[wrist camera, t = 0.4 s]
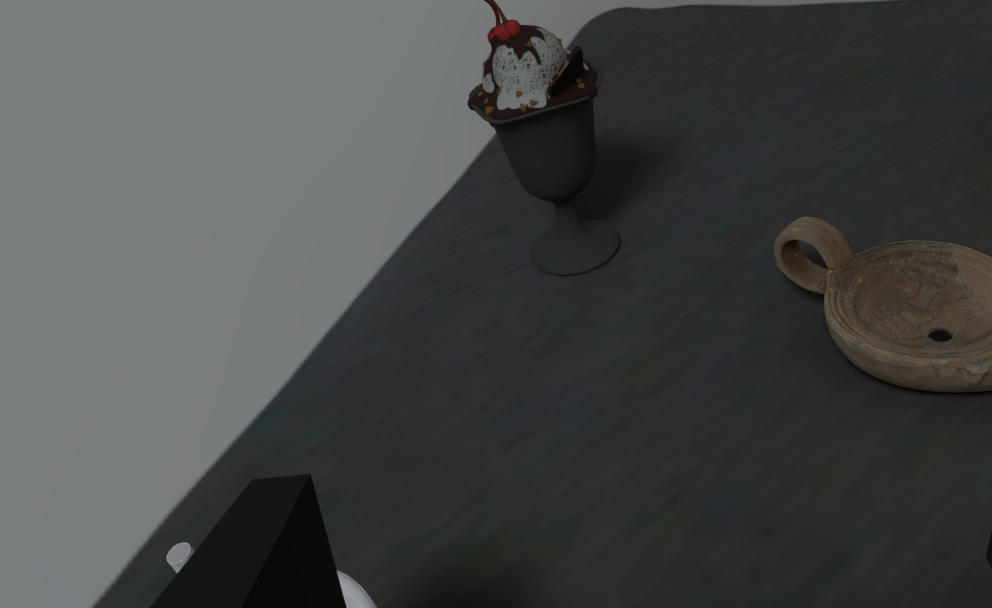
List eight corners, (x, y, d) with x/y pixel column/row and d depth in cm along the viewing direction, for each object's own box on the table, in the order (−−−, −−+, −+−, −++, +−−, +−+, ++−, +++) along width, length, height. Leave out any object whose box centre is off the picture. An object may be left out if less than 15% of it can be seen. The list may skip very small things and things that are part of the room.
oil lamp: (1137, 360, 34) (1166, 259, 31) (1041, 484, 31) (1062, 386, 28) (832, 254, 43) (831, 167, 40) (736, 341, 40) (726, 255, 37)
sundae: (509, 232, 51) (434, -19, 42) (620, 201, 51) (569, -59, 41) (523, 300, 46) (441, 30, 37) (648, 266, 45) (596, -15, 36)
